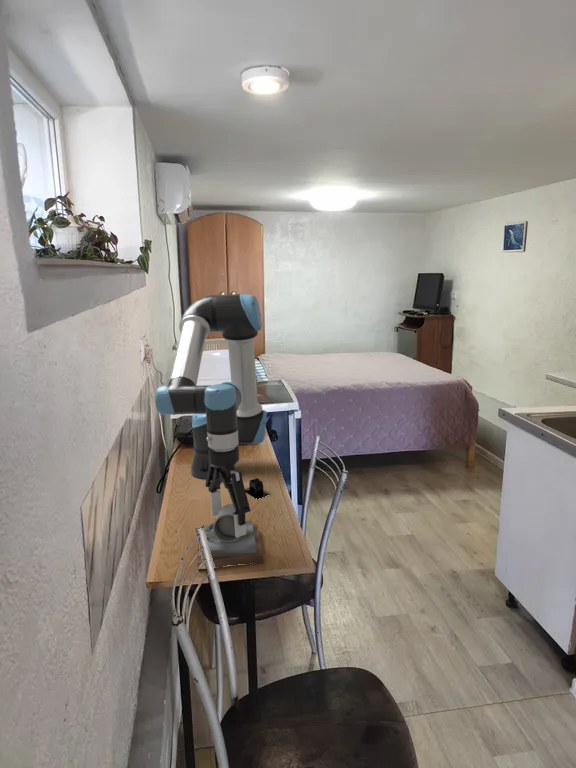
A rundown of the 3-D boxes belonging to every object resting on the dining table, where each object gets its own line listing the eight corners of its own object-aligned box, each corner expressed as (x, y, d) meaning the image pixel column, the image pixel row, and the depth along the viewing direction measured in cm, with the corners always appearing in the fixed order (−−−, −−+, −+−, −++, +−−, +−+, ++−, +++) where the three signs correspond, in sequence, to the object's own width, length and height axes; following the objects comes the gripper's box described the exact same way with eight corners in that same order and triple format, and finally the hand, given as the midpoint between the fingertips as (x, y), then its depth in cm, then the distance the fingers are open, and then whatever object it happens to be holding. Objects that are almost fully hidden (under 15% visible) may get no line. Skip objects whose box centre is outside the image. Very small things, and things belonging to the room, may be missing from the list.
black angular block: (276, 497, 159) (275, 484, 158) (256, 504, 155) (256, 490, 154) (255, 484, 169) (255, 472, 168) (237, 490, 165) (236, 478, 164)
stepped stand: (199, 536, 135) (198, 523, 135) (257, 530, 138) (256, 517, 137) (198, 570, 120) (196, 555, 119) (263, 562, 122) (262, 548, 121)
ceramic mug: (246, 526, 132) (244, 499, 131) (243, 542, 124) (242, 514, 123) (206, 527, 132) (204, 501, 131) (201, 543, 124) (199, 515, 123)
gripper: (189, 437, 131) (195, 510, 136) (233, 465, 110) (238, 550, 115) (215, 431, 135) (219, 502, 140) (262, 457, 115) (265, 540, 119)
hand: (228, 524), depth 127 cm, fingers open, 13 cm apart
